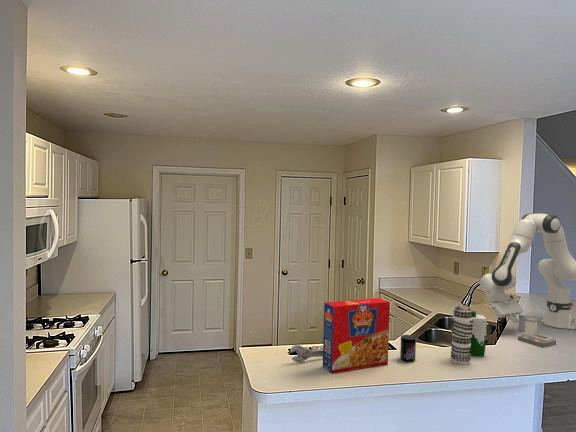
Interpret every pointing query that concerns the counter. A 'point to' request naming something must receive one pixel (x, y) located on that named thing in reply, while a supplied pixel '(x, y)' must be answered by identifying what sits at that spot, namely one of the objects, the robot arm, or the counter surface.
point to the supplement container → (408, 348)
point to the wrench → (304, 353)
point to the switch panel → (537, 340)
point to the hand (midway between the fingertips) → (516, 322)
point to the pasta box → (355, 334)
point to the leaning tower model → (461, 334)
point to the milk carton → (478, 335)
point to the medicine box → (524, 321)
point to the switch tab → (531, 326)
